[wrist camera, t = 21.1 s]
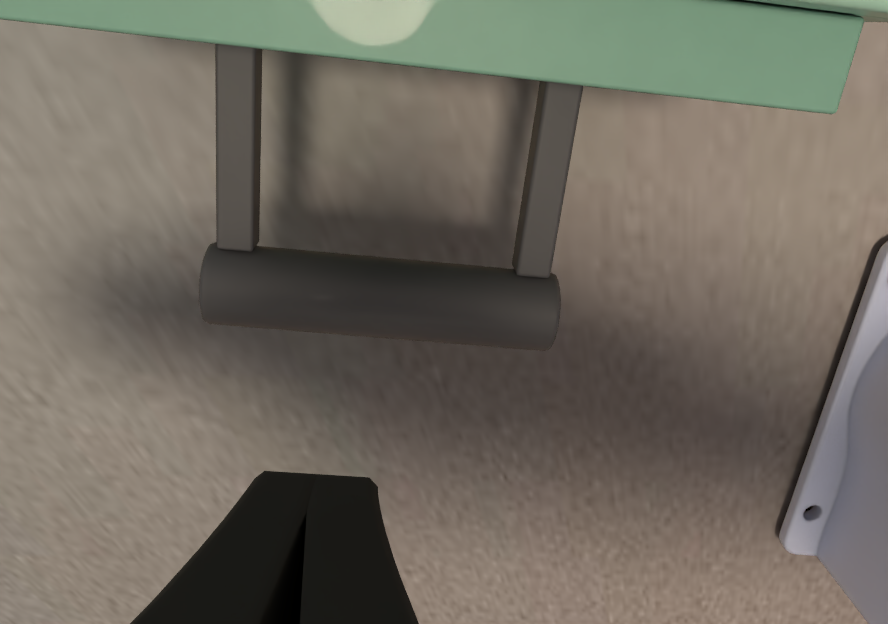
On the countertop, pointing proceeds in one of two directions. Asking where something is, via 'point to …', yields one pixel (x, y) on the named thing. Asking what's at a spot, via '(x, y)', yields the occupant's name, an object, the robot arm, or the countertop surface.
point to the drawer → (472, 51)
